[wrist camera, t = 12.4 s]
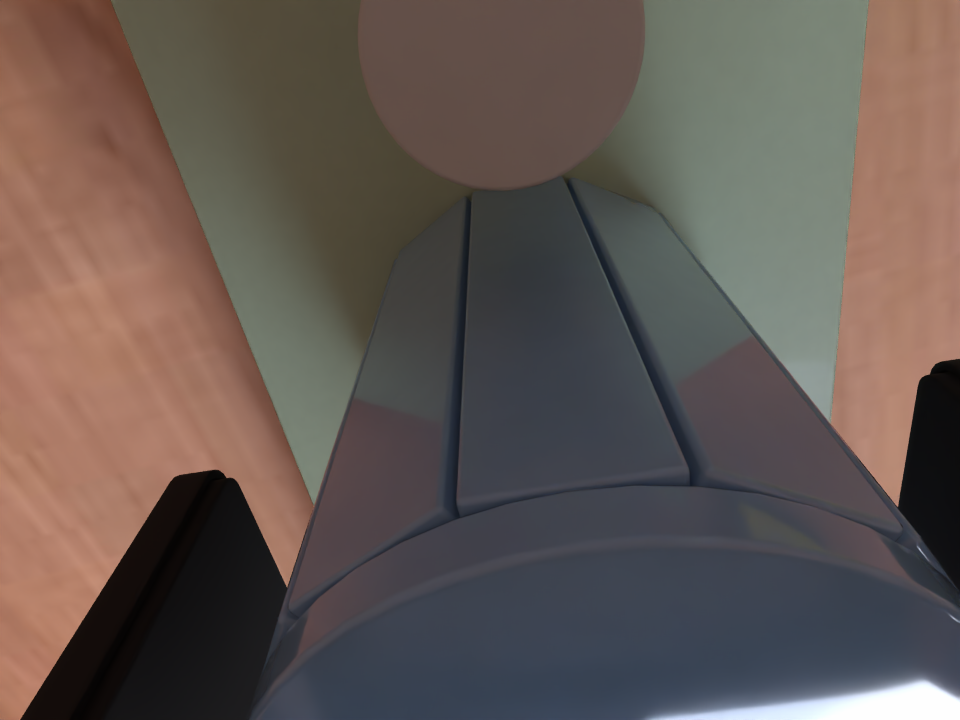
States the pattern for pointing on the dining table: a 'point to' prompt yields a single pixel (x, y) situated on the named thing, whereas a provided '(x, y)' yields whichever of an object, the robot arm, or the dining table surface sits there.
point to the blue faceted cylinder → (595, 502)
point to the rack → (500, 152)
